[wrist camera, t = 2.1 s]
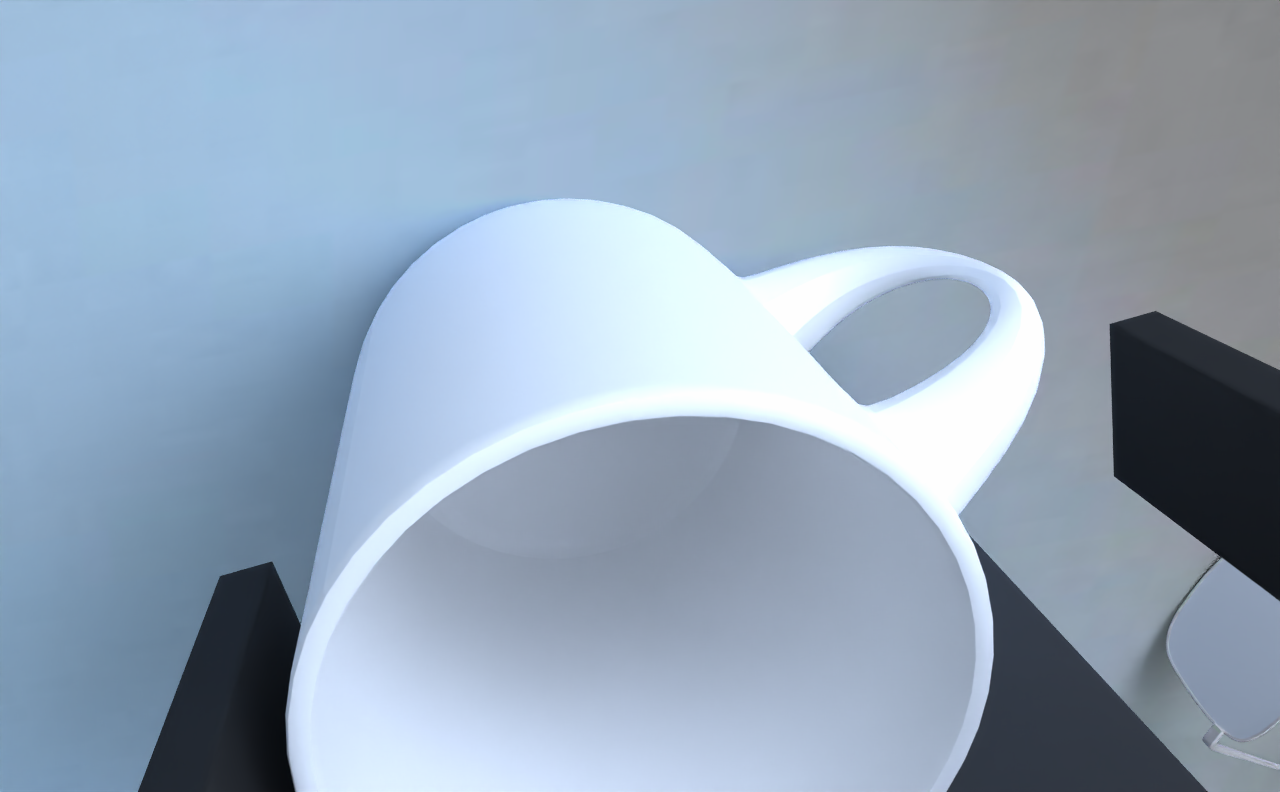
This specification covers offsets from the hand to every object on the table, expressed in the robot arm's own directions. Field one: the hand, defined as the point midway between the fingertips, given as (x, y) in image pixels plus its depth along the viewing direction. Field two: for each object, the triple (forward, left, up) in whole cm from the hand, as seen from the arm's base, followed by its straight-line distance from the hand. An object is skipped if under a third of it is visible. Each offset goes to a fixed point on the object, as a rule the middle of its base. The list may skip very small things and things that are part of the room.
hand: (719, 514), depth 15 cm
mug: (0, 0, -7) cm, 7 cm away
